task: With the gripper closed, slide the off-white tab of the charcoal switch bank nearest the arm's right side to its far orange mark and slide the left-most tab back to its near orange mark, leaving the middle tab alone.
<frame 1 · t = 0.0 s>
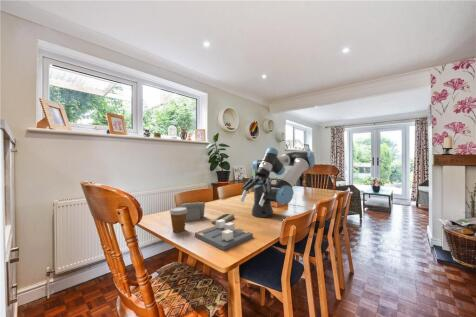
hand: (250, 203, 112), 15 cm above the table, tool tilted 35°, fingers open, 13 cm apart
tab a: (220, 223, 111), point 4 cm above the table, slide at 0.0 cm
disposable coffee cup: (178, 230, 113), on the table
tab b: (229, 227, 106), point 4 cm above the table, slide at 0.0 cm
switch bank: (223, 236, 104), on the table
olive shallow tray: (223, 221, 129), on the table
tab c: (227, 235, 96), point 4 cm above the table, slide at 8.0 cm
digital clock: (192, 218, 134), on the table
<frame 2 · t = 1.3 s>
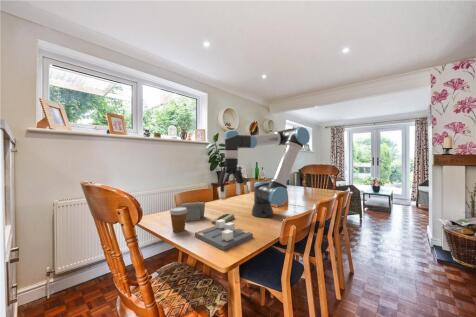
hand: (231, 195, 117), 18 cm above the table, tool pointing down, fingers open, 11 cm apart
nothing on the table moved.
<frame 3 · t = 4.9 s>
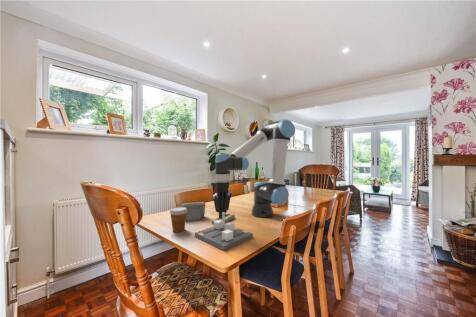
hand: (222, 224, 112), 4 cm above the table, tool pointing down, fingers closed
tab a: (218, 224, 110), point 4 cm above the table, slide at 1.5 cm, touching gripper
everything else where it was.
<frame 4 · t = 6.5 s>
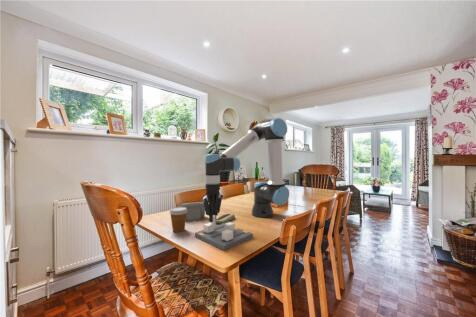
hand: (212, 227, 107), 3 cm above the table, tool pointing down, fingers closed
tab a: (208, 227, 105), point 4 cm above the table, slide at 8.1 cm, touching gripper
everything else where it was.
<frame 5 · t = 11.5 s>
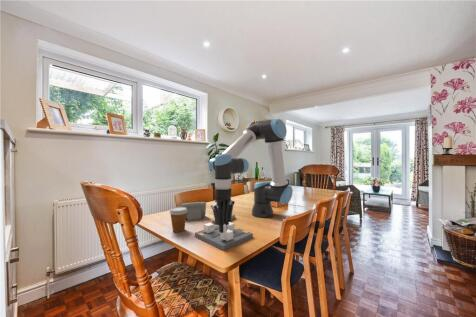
hand: (223, 238, 94), 3 cm above the table, tool pointing down, fingers closed
tab a: (208, 227, 105), point 4 cm above the table, slide at 8.1 cm
tab c: (227, 235, 96), point 4 cm above the table, slide at 7.9 cm, touching gripper
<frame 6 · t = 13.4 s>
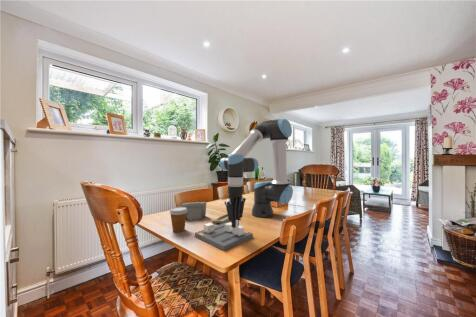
hand: (235, 233, 100), 3 cm above the table, tool pointing down, fingers closed
tab c: (239, 230, 102), point 4 cm above the table, slide at -0.1 cm, touching gripper
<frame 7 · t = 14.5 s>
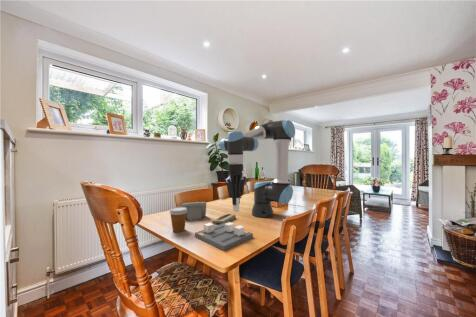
hand: (236, 211, 100), 14 cm above the table, tool pointing down, fingers closed
tab c: (239, 230, 102), point 4 cm above the table, slide at -0.1 cm
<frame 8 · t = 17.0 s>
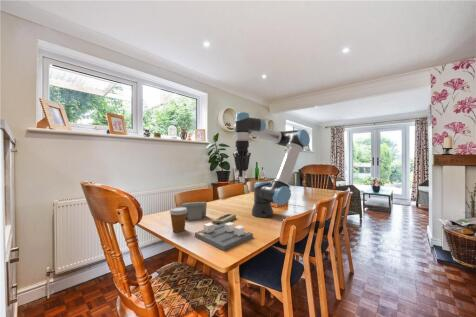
hand: (242, 182, 115), 26 cm above the table, tool pointing down, fingers closed
at the end: tab a slide at 8.1 cm; tab c slide at -0.1 cm; tab b slide at 0.0 cm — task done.
